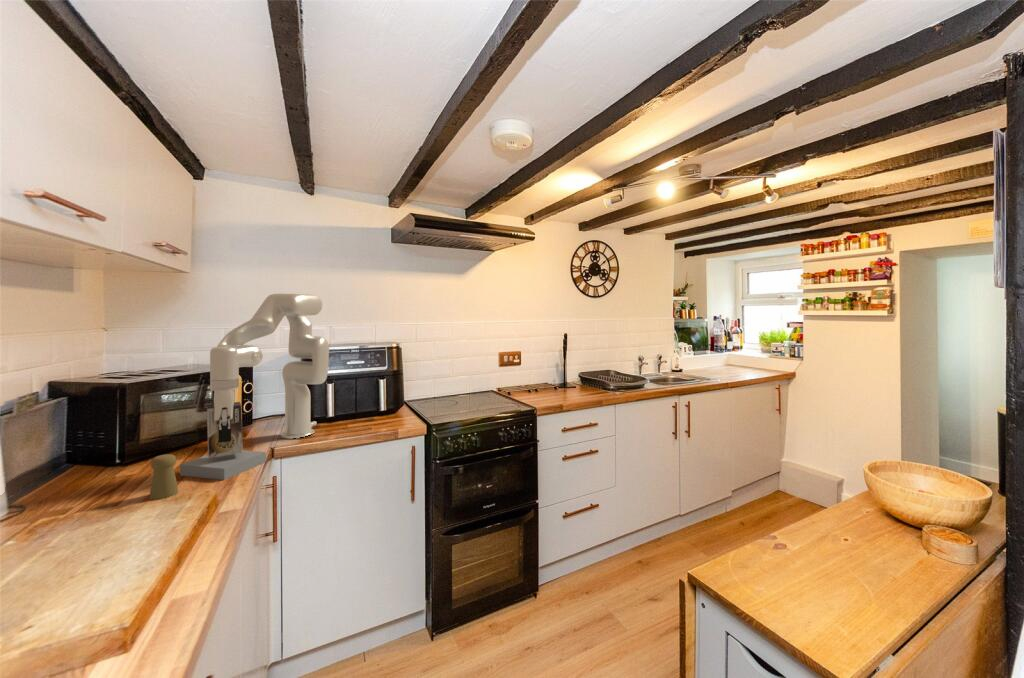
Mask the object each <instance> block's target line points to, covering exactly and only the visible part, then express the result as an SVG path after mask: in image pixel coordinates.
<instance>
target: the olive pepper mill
mask: <svg viewBox="0 0 1024 678" xmlns="http://www.w3.org/2000/svg"><path fill="white" fill-rule="evenodd" d="M176 462H177V457H176V456H175V455H174V454H170V453H169V454H168V453H167V454H160V455H157V456H155V457H154V458H152V460H151V463H150V466H151V468H152V469H153V472H152V478H151V487H150V492H149V499H150V500H155V499H156V500H162V499H161V498H164V499H167V497H168V498H171V497H173V495H174V496H175V495H177V494H179V488H178V481H177V478H176V472H175V467H174V466H175V465H176ZM170 496H171V497H170Z"/></svg>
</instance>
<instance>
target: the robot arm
mask: <svg viewBox="0 0 1024 678" xmlns="http://www.w3.org/2000/svg"><path fill="white" fill-rule="evenodd" d="M322 310H323V301H322V299H321V298H320V296H318V295H316V294H299V293H273V294H269V295H268V296H267V297H266V298H265V299H264V301H262V303H261V305H260V306H259V308H257V310H256V312H255V313H254V315H253V316H252V317H251V318H250V319H249V320H248V321H246V322H244V323H242V324H240V325H238V326H237V327H234V328H233V329H232V330H230V331H229V332H227V334H225V336H224V337H222V339H221V340H220V342H219V343H218V344H217V346H215V347H212V348H211V349H210V351H209V377H210V378H209V379H210V380H209V383H210V385H209V386H210V389H209V390H210V391H212V392H213V391H214V393H213V404H214V421H215V422H216V420H219V418H220V420H219V442H227V441H231V428H230V420H232V418H233V408H234V402H235V390H239V388H240V386H239V384H240V382H239V381H240V380H239V379H240V376H239V373H240V371H239V370H240V367H241V368H243V367H244V368H253V367H255V366H258V365H259V364H260V363H261V362H262V361H263V357H264V354H263V351H262V350H261V348H259V347H258V346H257V345H256V346H255V345H253V344H252V345H248V344H246V343H248V342H251V341H253V340H256V339H261V338H263V337H267V336H270V335H271V334H273V333H274V332H275V331H276V330H277V328H278V326H279V324H280V323H281V322H282V320H283V318H284V317H285V318H287V321H288V323H289V335H288V353H289V356H291V358H295V359H312V361H301V360H300V361H299V360H298V361H297V360H296V361H291V362H287V363H286V364H285V365H284V366H283V368H282V372H281V373H282V374H281V375H282V378H283V379H282V380H283V384H284V414H285V415H284V420H285V421H284V425H285V426H284V427H285V428H284V431H283V432H281V433H280V437H281V438H282V439H287V440H290V439H292V440H293V438H296V439H301V438H300V437H304V438H306V437H305V436H308V435H311V434H313V433H314V434H315V430H314V429H313V427H314V426H316V425H317V424H318V423H317V421H315V420H314V421H311V401H312V400H311V390H310V389H309V387H308V385H321V384H323V383H325V382H326V380H327V378H328V373H329V372H328V371H329V361H330V360H329V358H330V344H329V342H328V341H327V339H326V338H325V337H322V336H318V335H317V336H313V326H312V325H313V324H312V321H311V320H310V318H309V317H308V316H316V315H319V313H321V311H322ZM228 415H229V419H227V417H228ZM221 417H222V420H221ZM314 434H313V435H314ZM311 436H312V435H311ZM308 437H309V436H308Z"/></svg>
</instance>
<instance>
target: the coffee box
mask: <svg viewBox="0 0 1024 678" xmlns="http://www.w3.org/2000/svg"><path fill="white" fill-rule="evenodd" d="M242 408H243V407H242V404H241V402H240V401H234V408H233V418H232V420H230V428H231V441H227V442H219V420H220V418H219V420H216V422H215V421H214V403H212V404H207V405H206V424H207V426H206V427H207V455H208V458H213V457H219V456H225V455H231V454H236V453H242V452H243V451H242V450H243V420H242V419H243V415H242V414H243V411H242ZM227 419H229V415H228V417H227ZM221 420H222V417H221Z"/></svg>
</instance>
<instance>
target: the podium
mask: <svg viewBox="0 0 1024 678" xmlns="http://www.w3.org/2000/svg"><path fill="white" fill-rule="evenodd" d="M242 451H243V452H242V453H236V454H231V455H225V456H219V457H213V458H208V454H206V455H203V456H201V457H197V458H195V459H192V460H189V461H186V462H184V463H183V462H182V463H181V464H179V475H180V477H181V476H182V477H191V478H201V479H202V478H203V479H210V480H222V481H225V480H227V479H231V478H233V477H234V476H237V475H239V474H241V473H243V472H247V471H248V470H250V469H253V468H256V467H257V466H260V465H262V464H264V463H266V462H267V461H266V460H267V459H266V457H267V455H266V454H267V452H266V451H256V450H248V449H242Z"/></svg>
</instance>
